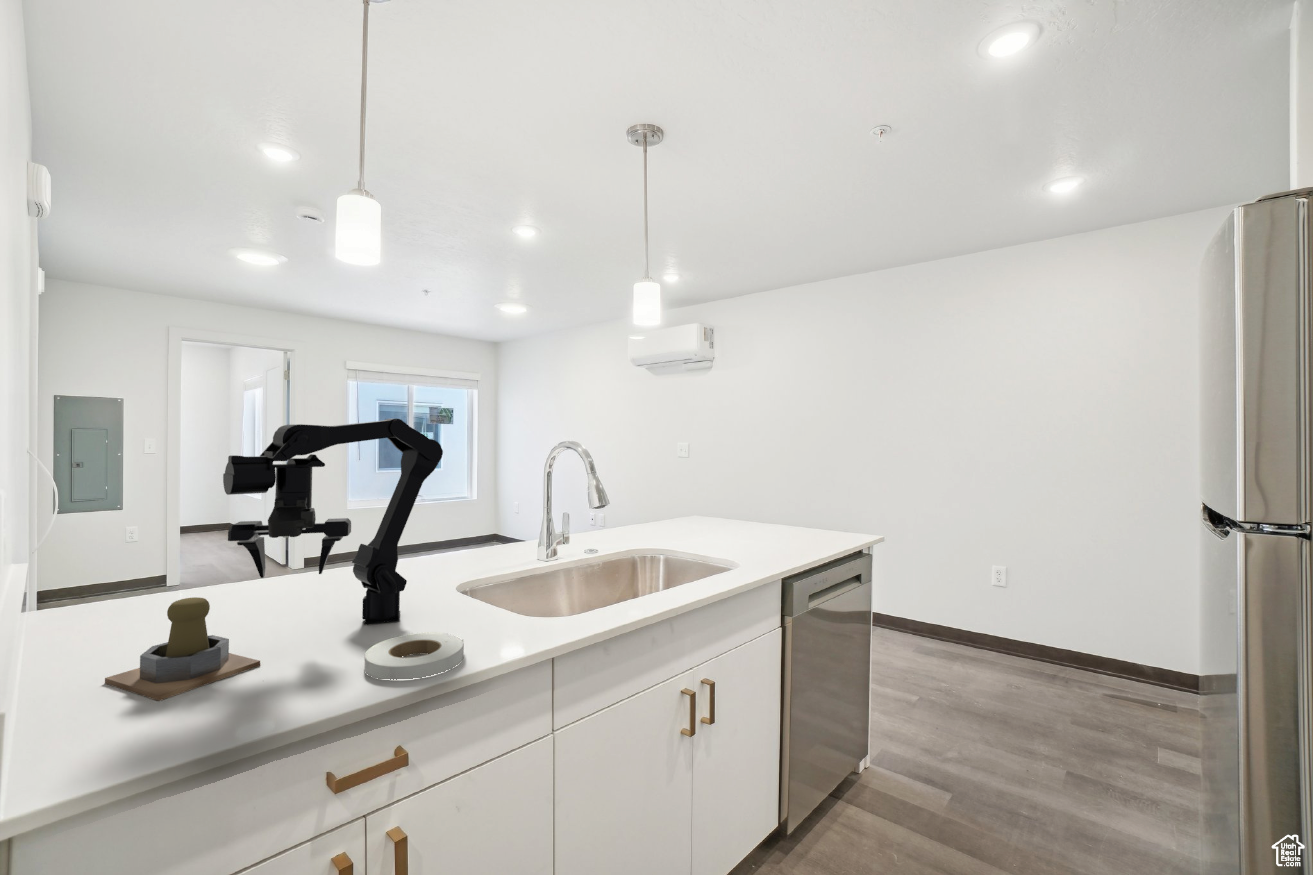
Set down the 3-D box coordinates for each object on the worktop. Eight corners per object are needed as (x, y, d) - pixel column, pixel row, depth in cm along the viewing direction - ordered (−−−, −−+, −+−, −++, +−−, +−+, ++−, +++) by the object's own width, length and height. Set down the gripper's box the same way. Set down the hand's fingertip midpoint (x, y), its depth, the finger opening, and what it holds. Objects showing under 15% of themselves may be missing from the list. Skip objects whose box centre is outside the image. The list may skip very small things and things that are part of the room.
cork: (218, 666, 91) (220, 597, 91) (171, 679, 86) (173, 606, 86) (202, 658, 94) (203, 592, 94) (155, 670, 89) (157, 600, 89)
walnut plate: (207, 652, 99) (207, 647, 99) (260, 665, 94) (260, 660, 94) (104, 683, 86) (104, 677, 86) (159, 700, 81) (159, 695, 81)
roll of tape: (387, 692, 85) (387, 673, 85) (350, 664, 96) (350, 647, 96) (480, 664, 97) (480, 647, 97) (438, 641, 107) (438, 626, 107)
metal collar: (201, 653, 96) (202, 632, 96) (239, 663, 93) (240, 641, 93) (128, 675, 87) (129, 652, 87) (167, 687, 83) (167, 663, 83)
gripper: (218, 496, 95) (216, 590, 95) (345, 494, 102) (343, 581, 102) (238, 491, 105) (236, 575, 105) (352, 489, 112) (350, 568, 112)
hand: (292, 575), depth 106 cm, fingers open, 9 cm apart
